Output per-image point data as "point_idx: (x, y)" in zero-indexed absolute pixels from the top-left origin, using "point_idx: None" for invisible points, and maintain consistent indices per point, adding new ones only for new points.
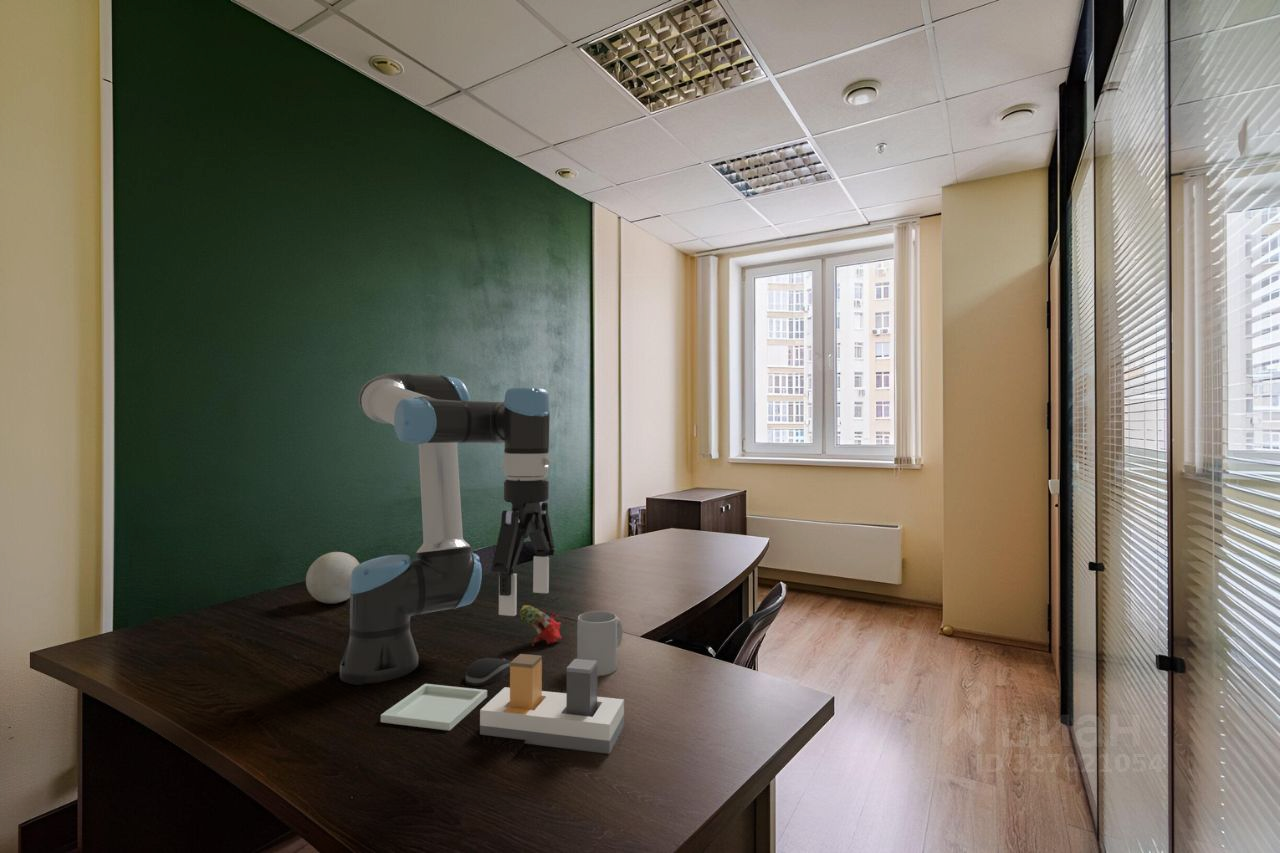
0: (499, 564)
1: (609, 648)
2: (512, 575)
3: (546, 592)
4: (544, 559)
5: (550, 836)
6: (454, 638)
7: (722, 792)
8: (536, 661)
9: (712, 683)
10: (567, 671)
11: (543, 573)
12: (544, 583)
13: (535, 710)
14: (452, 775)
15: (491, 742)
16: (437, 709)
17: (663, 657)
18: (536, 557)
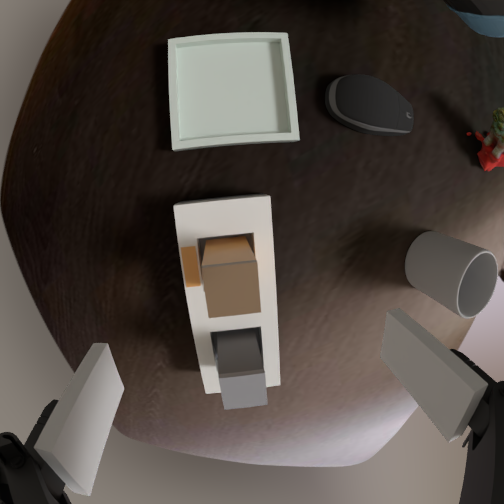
0: (10, 484)
1: (434, 299)
2: (68, 483)
3: (382, 356)
4: (449, 426)
5: (73, 362)
6: (445, 19)
7: (189, 450)
8: (229, 315)
9: (392, 395)
10: (218, 375)
11: (418, 386)
12: (398, 367)
13: (204, 293)
14: (93, 225)
15: (174, 225)
16: (229, 90)
17: (454, 323)
18: (466, 402)
